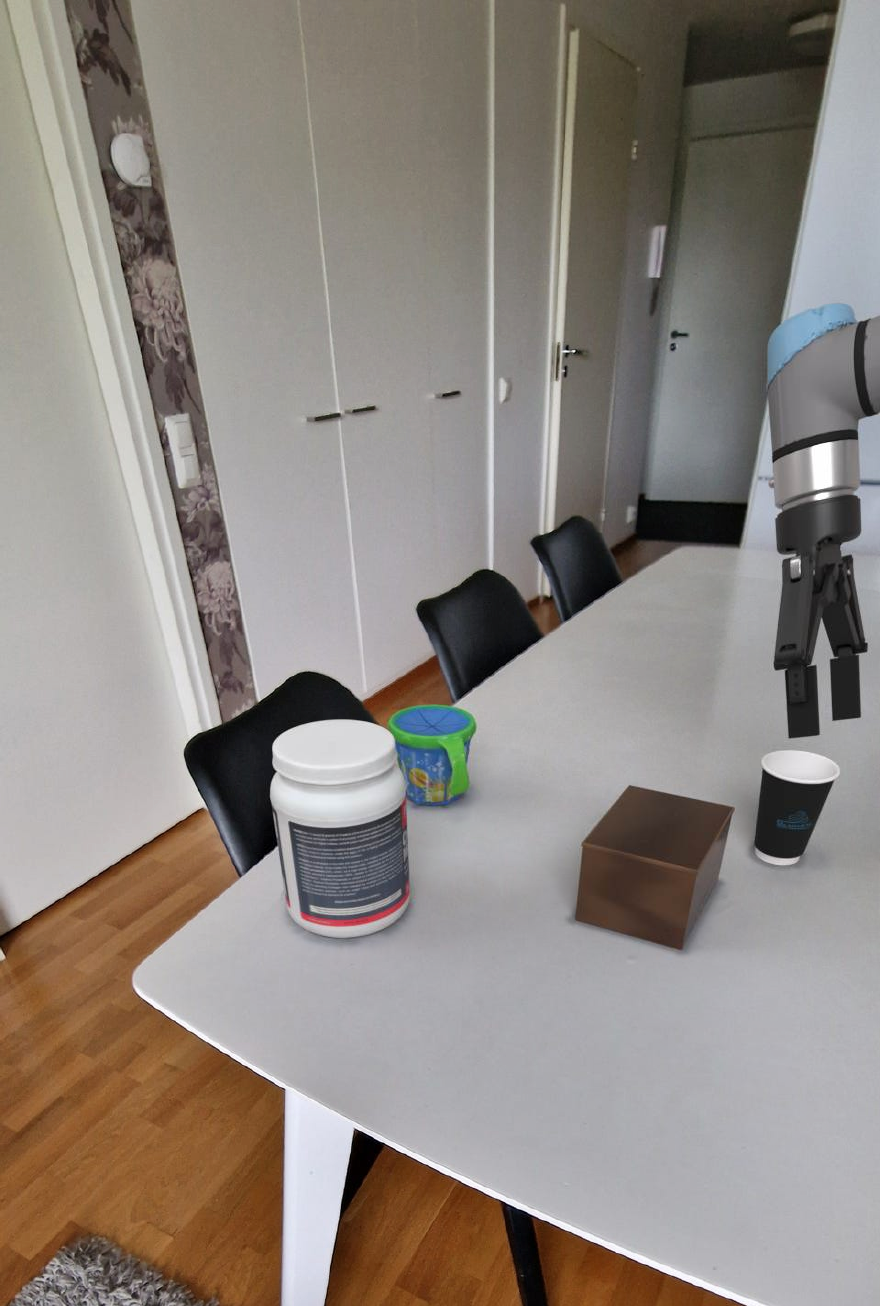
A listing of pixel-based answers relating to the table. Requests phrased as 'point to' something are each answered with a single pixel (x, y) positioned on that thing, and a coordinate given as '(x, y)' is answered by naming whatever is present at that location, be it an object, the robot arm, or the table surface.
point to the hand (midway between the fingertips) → (826, 727)
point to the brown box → (652, 865)
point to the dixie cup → (791, 803)
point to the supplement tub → (341, 827)
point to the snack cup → (433, 751)
